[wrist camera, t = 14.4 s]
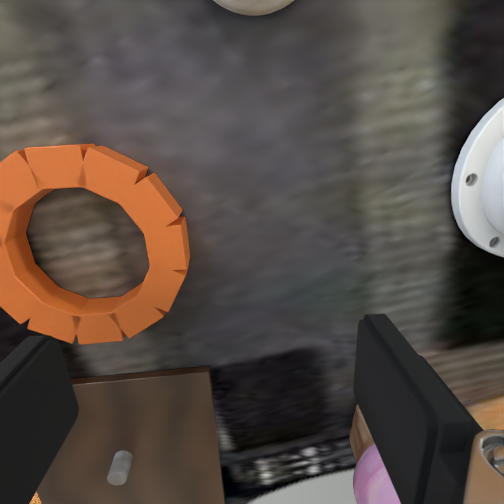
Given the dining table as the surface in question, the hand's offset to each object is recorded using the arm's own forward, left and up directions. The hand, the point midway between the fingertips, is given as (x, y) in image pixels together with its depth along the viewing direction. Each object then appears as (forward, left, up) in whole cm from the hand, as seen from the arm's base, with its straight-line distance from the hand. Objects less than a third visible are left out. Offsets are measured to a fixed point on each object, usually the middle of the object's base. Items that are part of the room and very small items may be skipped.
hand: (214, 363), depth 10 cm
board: (+10, +20, -14) cm, 27 cm away
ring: (+9, 0, -13) cm, 16 cm away
